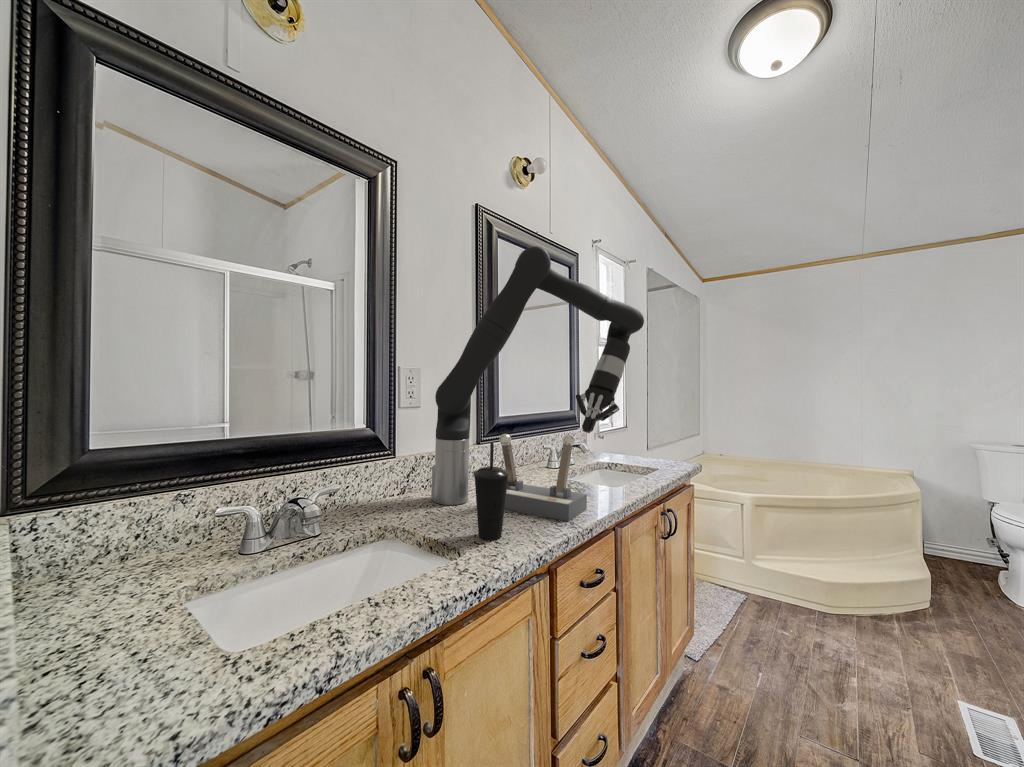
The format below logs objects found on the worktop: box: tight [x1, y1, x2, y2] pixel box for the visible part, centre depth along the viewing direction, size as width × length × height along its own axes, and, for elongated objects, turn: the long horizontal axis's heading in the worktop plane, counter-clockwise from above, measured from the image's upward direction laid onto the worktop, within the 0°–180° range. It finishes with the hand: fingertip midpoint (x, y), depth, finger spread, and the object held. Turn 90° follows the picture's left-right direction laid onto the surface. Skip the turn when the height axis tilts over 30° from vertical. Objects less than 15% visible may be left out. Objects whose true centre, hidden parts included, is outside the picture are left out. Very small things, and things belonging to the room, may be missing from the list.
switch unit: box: [504, 480, 588, 522], centre depth 114 cm, size 24×12×6 cm, turn 60°
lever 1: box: [498, 433, 518, 487], centre depth 115 cm, size 3×3×15 cm
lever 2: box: [555, 434, 575, 493], centre depth 112 cm, size 3×3×15 cm
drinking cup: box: [472, 441, 509, 541], centre depth 91 cm, size 8×8×20 cm
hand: (586, 431), depth 116 cm, fingers closed
